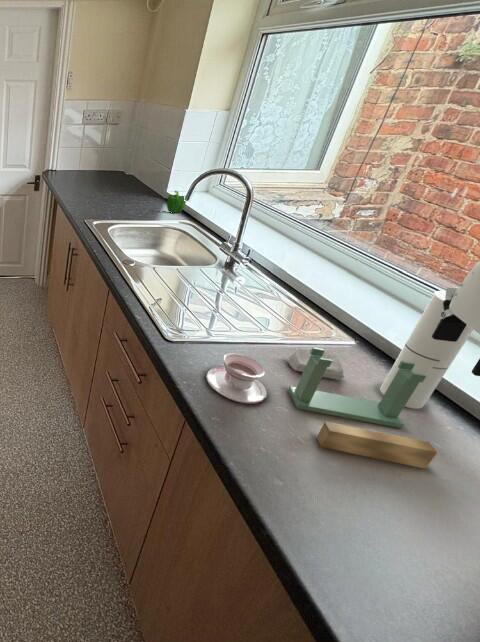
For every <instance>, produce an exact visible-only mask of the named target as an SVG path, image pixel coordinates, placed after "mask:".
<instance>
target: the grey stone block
mask: <svg viewBox="0 0 480 642" xmlns="http://www.w3.org/2000/svg"><path fill="white" fill-rule="evenodd" d="M311 350H312V348H311V349H310V348H303V347H297V348H296V349H295V350H294V351H293V352H292V353H291V354H290V356H289V358H288V359H287V363H288V364H289V366H290V367H291V368H292V370H294V371H297V372H301V373H303V372H304V369H305V367H306V365H307V363H308V361H309V358H310V356H311V354H310V352H311ZM314 356H316V355H314ZM320 357H322V358H325V359H331V360H332V363H331V365H330V367H327V368H326V370H325V372H324V375H323V377H322V378H327V379H332V380H337V381H340V380H342V379H343V377H345V373H344V367H343V365H342V363H341V361H340V355H339V354H338V353H336V352H330V351H326V350H325V351H324V353H323V355H322V356H320Z"/></svg>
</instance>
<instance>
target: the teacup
mask: <svg viewBox="0 0 480 642" xmlns="http://www.w3.org/2000/svg"><path fill="white" fill-rule="evenodd" d="M222 360H223V365H224V366H215V367H212V368H211V369H209V370H208V371H207V373H206V376H205V378H206V382H207V383H208V385H209V386H210V387H211V389H213V390H214V391H215V392H217V393H218V394H219V395H221V396H222V397H224V398H227V399H229V400H231V401H234V402H237V403H241V404H250V405H251V404H252V405H253V404H258V403H262V402H263V401H264V400H265V399H266V398H267V392H268V391H267V389H266V386H264V384H263V383H262V381H260V380H259V378H262V377H264V376H265V374H266V370H265V368H264V366H263V365H262V364H261V363H260V362H258V361H257V360H256V359H254V358H252V357H250V356H248V355H246V354H242V353H238V352H228V353H225V354H224V355H223V359H222Z"/></svg>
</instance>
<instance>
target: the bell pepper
mask: <svg viewBox="0 0 480 642" xmlns="http://www.w3.org/2000/svg"><path fill="white" fill-rule="evenodd" d="M184 197H185V198H186V196H185V195H180V193H179V191H178V190H174V194H169V195H168V197H167V200H166V209H167V211H168V212H169V213H172V214H177V213H181V212H182V211H183V209H184V207H185V205H186V203H187V200H186V201H184Z"/></svg>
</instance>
